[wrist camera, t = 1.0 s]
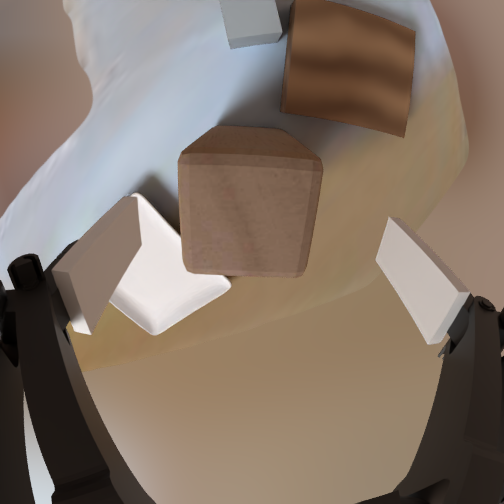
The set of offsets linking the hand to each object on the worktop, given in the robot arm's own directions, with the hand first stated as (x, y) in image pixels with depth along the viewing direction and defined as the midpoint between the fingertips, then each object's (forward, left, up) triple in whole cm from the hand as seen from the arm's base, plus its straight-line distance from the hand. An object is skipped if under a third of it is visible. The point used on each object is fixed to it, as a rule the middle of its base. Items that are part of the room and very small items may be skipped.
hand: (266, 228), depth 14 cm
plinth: (-13, +11, -25) cm, 30 cm away
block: (+2, -1, -25) cm, 25 cm away
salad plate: (+21, -16, -26) cm, 37 cm away
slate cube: (-17, -2, -25) cm, 31 cm away
